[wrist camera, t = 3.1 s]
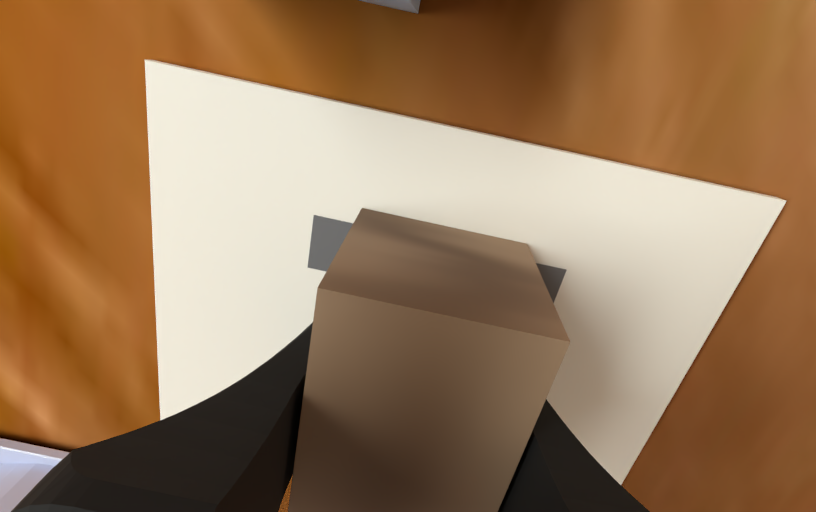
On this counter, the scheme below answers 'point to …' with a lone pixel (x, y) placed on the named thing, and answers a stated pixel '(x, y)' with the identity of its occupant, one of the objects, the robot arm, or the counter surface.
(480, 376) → the walnut bar
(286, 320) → the letter mat
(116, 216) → the counter surface
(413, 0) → the blue cube
